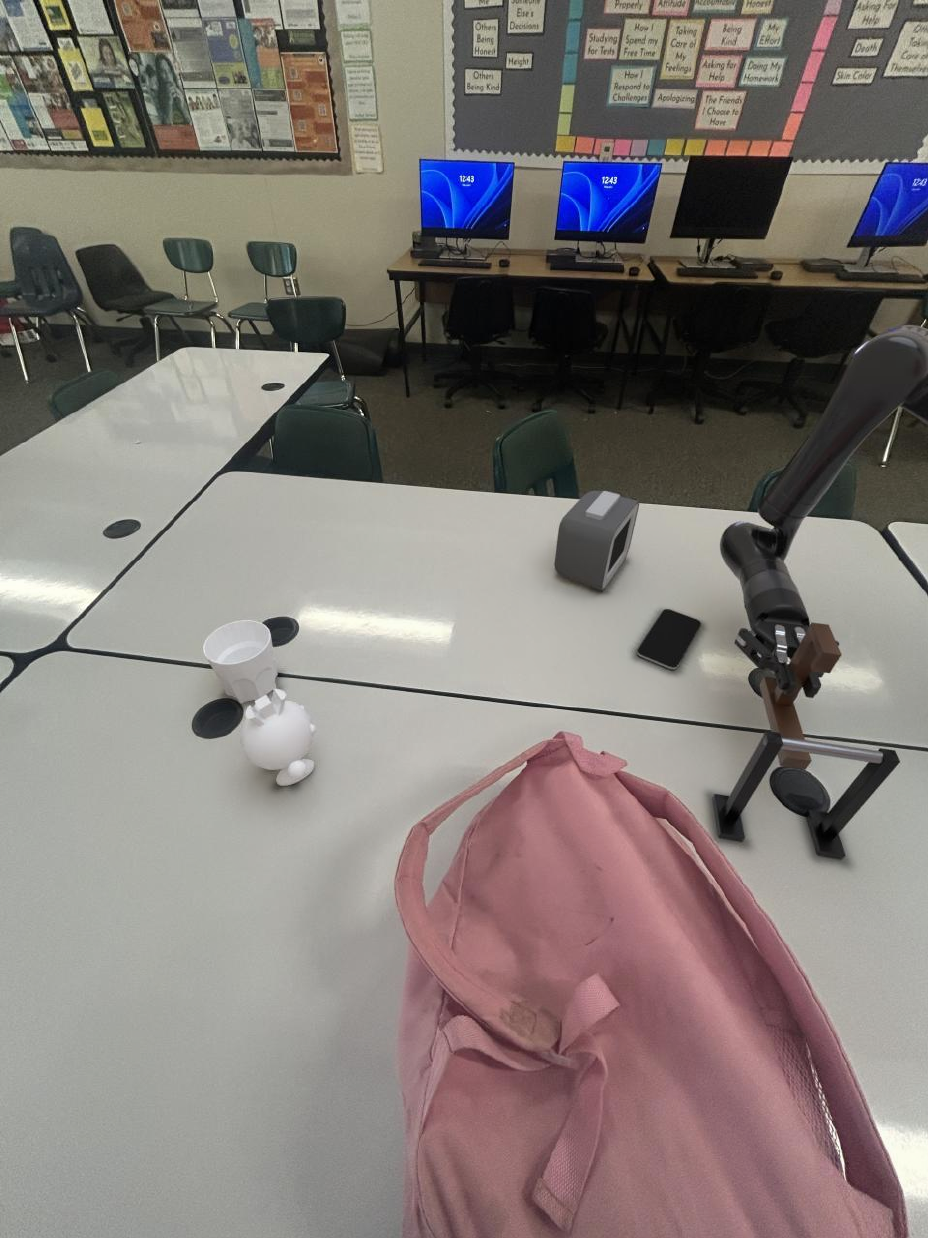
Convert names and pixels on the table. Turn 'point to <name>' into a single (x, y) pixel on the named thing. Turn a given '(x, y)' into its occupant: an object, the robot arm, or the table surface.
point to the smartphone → (669, 639)
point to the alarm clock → (595, 538)
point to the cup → (242, 659)
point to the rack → (820, 823)
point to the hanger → (798, 689)
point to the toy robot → (278, 737)
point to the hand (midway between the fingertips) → (801, 691)
